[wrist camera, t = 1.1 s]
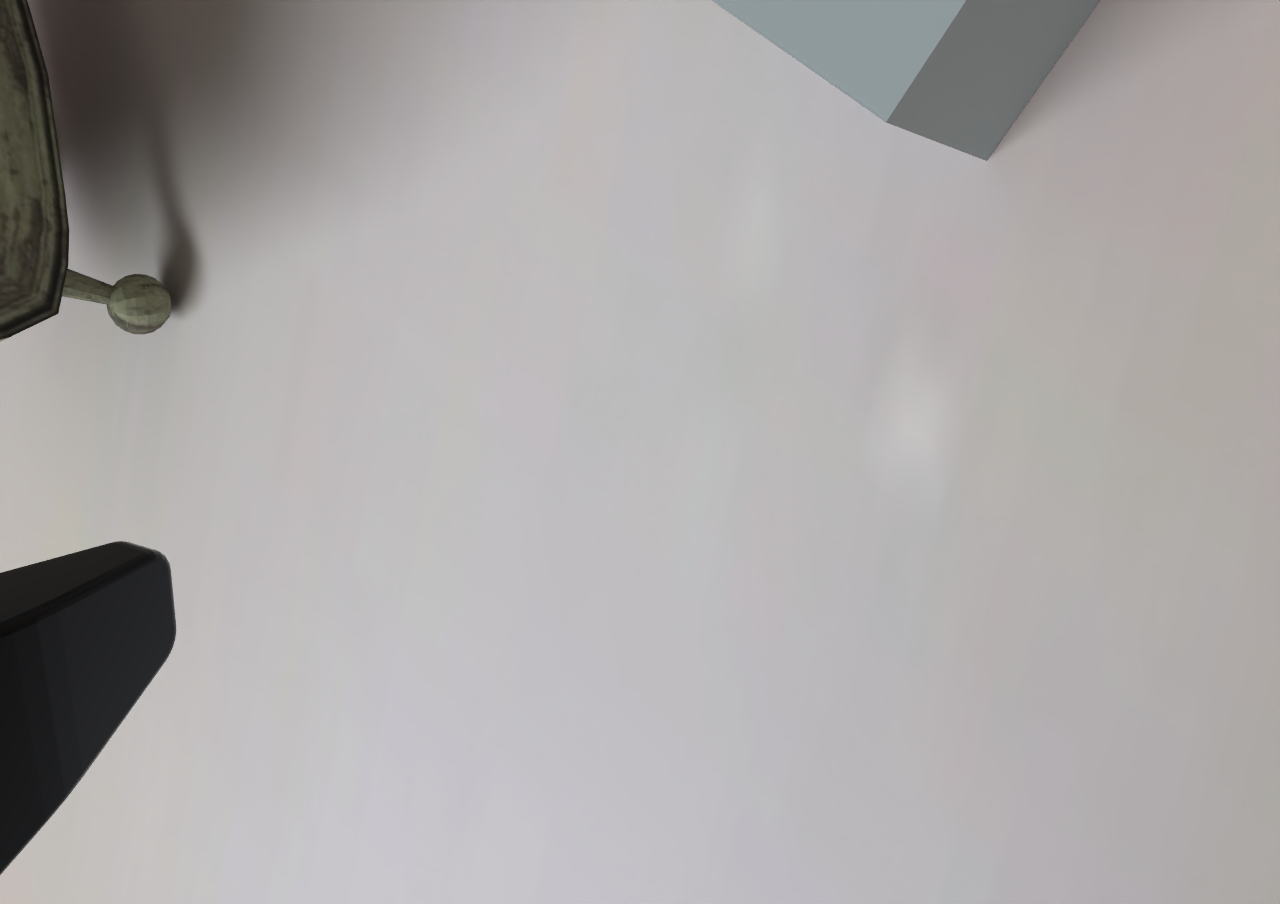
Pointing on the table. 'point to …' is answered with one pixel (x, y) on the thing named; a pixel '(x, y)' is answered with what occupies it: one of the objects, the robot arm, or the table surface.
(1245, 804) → the table surface
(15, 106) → the tabletop clock
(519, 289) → the table surface
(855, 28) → the slate grey cube
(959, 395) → the table surface
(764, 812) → the table surface
